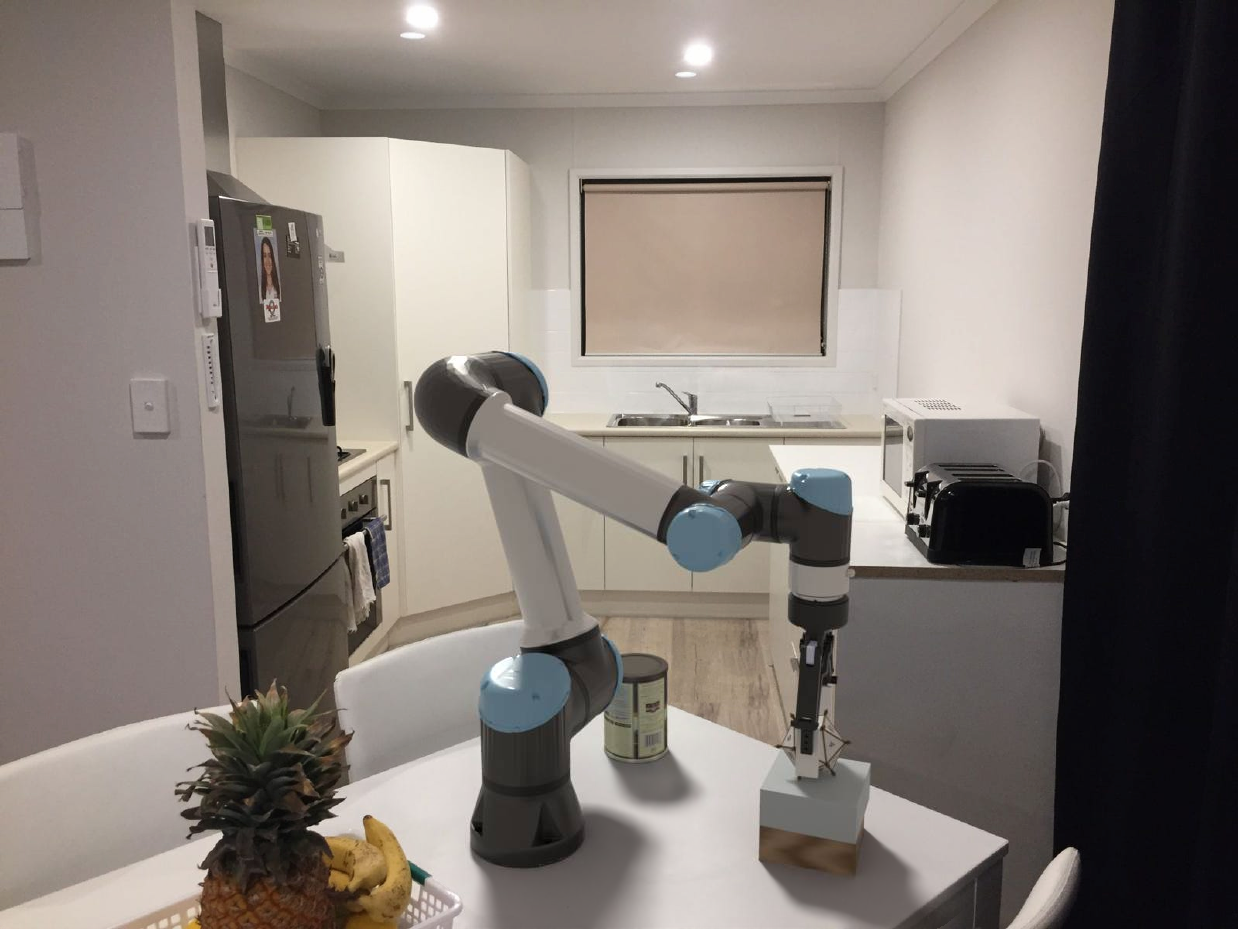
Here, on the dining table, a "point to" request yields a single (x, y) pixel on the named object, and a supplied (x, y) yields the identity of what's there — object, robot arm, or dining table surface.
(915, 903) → the dining table surface
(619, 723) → the coffee can
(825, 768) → the game die
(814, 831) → the tower top
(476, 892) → the dining table surface
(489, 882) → the dining table surface
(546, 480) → the robot arm
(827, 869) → the tower base
